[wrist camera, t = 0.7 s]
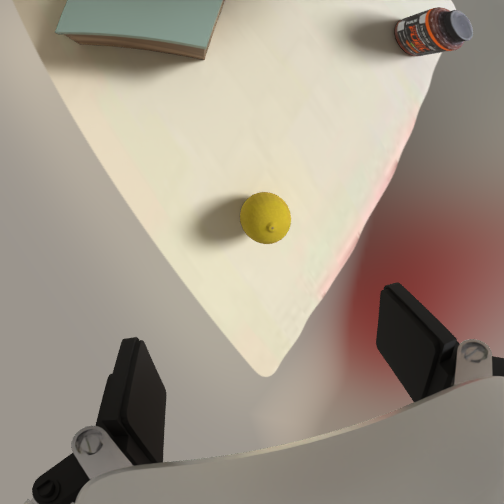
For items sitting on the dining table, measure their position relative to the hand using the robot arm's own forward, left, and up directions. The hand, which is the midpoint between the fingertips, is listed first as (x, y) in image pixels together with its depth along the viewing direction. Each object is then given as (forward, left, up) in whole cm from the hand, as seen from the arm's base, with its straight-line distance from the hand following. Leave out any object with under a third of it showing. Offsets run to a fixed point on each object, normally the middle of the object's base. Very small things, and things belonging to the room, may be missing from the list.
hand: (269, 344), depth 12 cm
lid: (-23, -14, -22) cm, 35 cm away
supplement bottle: (-29, +19, -29) cm, 45 cm away
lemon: (+1, +5, -29) cm, 29 cm away
